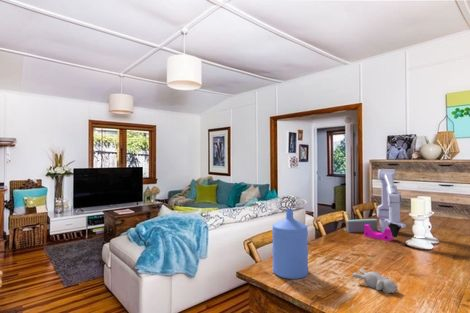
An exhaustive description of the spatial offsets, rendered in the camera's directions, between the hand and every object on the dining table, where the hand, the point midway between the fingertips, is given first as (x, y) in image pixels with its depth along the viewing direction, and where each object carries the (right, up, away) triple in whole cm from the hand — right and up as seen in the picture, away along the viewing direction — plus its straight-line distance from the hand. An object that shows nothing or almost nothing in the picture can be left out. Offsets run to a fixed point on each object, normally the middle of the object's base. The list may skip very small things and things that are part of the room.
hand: (394, 236), depth 159 cm
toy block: (-4, -5, +11) cm, 13 cm away
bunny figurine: (-40, -4, -53) cm, 66 cm away
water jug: (-70, -4, -39) cm, 81 cm away
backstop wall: (-7, -4, +29) cm, 30 cm away
